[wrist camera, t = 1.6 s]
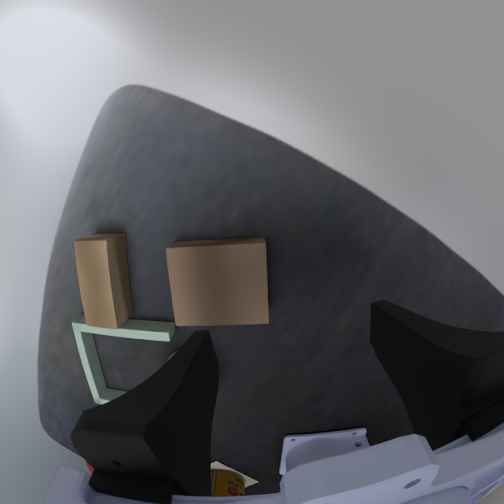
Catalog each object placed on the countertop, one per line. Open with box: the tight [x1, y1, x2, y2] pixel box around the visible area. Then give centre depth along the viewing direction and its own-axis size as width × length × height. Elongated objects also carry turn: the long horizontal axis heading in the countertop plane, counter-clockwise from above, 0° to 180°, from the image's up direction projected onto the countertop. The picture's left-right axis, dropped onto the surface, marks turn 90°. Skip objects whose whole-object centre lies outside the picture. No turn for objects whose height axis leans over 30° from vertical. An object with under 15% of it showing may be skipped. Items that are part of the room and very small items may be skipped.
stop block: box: [74, 233, 133, 330], centre depth 22 cm, size 3×7×4 cm, turn 179°
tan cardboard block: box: [166, 237, 269, 326], centre depth 22 cm, size 7×6×3 cm
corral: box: [72, 314, 175, 404], centre depth 24 cm, size 10×10×2 cm
